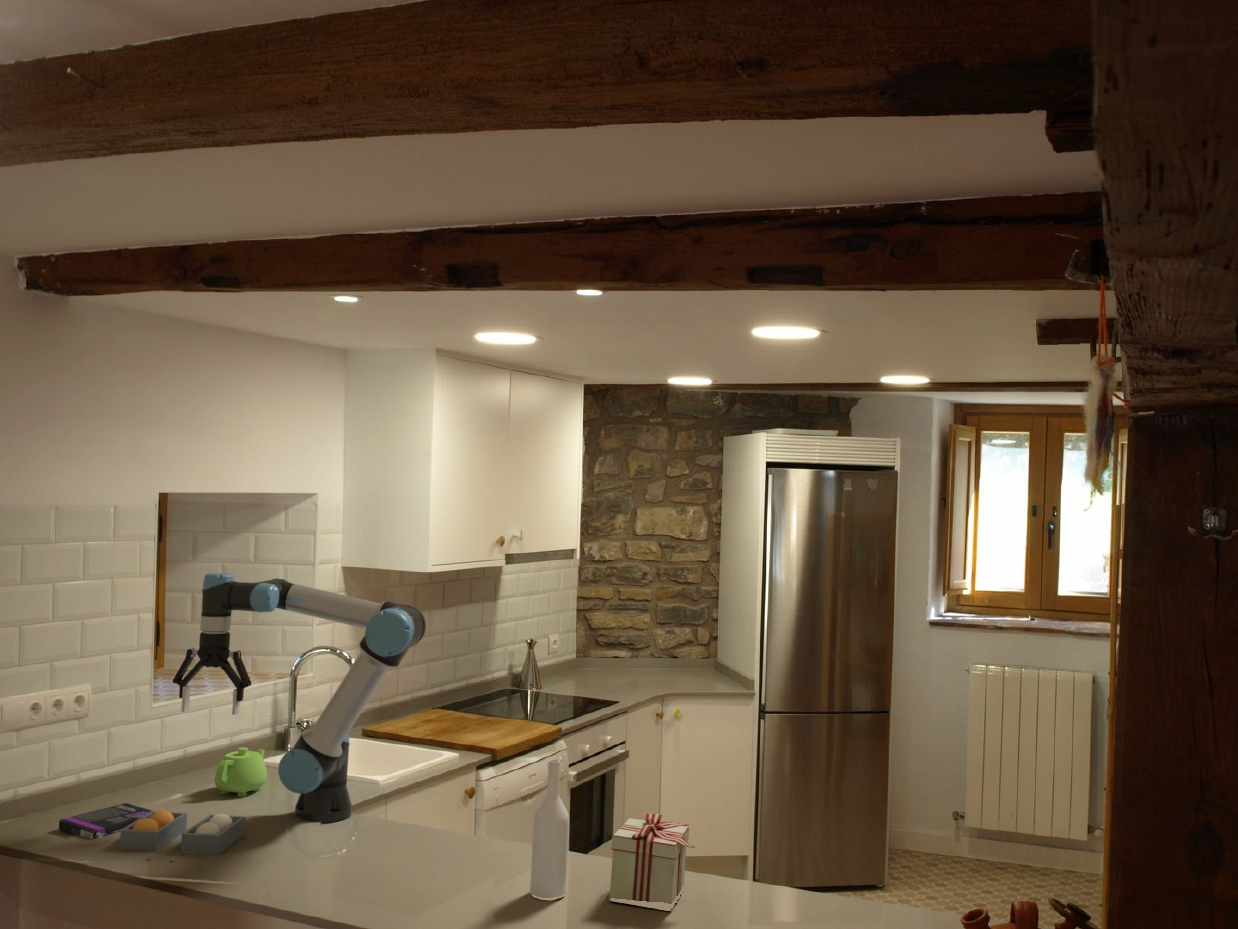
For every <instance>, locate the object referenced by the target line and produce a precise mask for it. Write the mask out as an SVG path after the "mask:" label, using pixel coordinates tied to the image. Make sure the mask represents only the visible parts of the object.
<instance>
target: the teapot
mask: <svg viewBox="0 0 1238 929" xmlns="http://www.w3.org/2000/svg"><path fill="white" fill-rule="evenodd" d="M265 752H266V750H265V749H262V748H260V749H257V751H252V750H249V748H248V747H245V746H244V747H238V748H237V751H236V750H235V751H232V752H228V753H226V754H225V755H224V756H223V758H222V759H221V760H220V761H219V764H218V767H217V769H216V771H215V775H214V784H215V786H216V788H217V789H218V790H220V792H219V794H220V795H228V794H229V793H230V792H231V793H237V797H239V798H246V797H248V793H247V792H250V791H251V792H252V793H253V792H255V793H256V792H260V791H261V789H260V788H261V787H262V786H263V785H264V784H265V783H266V781H267V777H268V772H267V767H266V763H265V761H264V756H265Z"/></svg>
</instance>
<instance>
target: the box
mask: <svg viewBox="0 0 1238 929" xmlns="http://www.w3.org/2000/svg"><path fill="white" fill-rule="evenodd" d="M151 811H152V810H150V809H148V808H144V807H141V806H136V805H134V804H131V803H128V802H125V803H121V804H116V805H114V806H109V807H103V808H100V809H97V810H93V811H88V812H85V813H82V814H78V815H72V816H70V817H66V818H61V819H59V820H58V821H59V822H58V831H59V830H60V831H62V832H61V833H63V834H67V835H70V836H75V835H78V836H81V837H84V838H87V839H90V840H95V839H100V838H102V837H107V836H110V835H113V834H117V833H121V829H123V828H125V827H126V826H128V825H130V824H131V823H133V822H135V821H136V820H138V819H140V818H141V817H143V816H145V815H146V814H148V813H150V812H151ZM60 831H59V832H60Z"/></svg>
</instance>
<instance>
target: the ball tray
mask: <svg viewBox="0 0 1238 929" xmlns="http://www.w3.org/2000/svg"><path fill="white" fill-rule="evenodd" d="M155 812H157V810H151V812H150V813H148V814H146V815H145V816H143V817H141V818H140V819H138V820H136V821H135V822H133V823H131V824H130V825H128V826H126V827H125V828H123V829H121V832H119V833H120V837H119V849H121V850H132V851H151V852H157V853H158V854H162V850H161V849H162V848H163V847H165V846H166V845H168V844H170V842H172V841H174V840H175V839H176V838H178V837H179V836H181V840H180V844H181V845H180V854H179V855H182V856H183V855H185V854H195V855H196V854H197V855H198V854H200V855H212V856H213V855H215V856H218V855H220V854H221V853H222V852H224V851H225V850H227V849H228V848H229V847H230V846H231V845H232V844H234V843H235V842H236V841H238V839H240V838H241V837H243V836H244V835H245V826H246V825H245V824H246V816H244V815H243V816H242V815H240V816H239V815H228V816H229V817H230V818H231V819H232V822H233V824H231V825H230V826H228V827H227V828H226V829H224V830H223V831H222V832H220V833H219V834H218V835H212V834H196V833H195V832H196V830H197V828H198V827H199V826H200V825H202V824H204V823H207V822H209V820H210V819H211V818H212V817H213V816H215V815H216V814H208V815H207V816H205V817H204V818H203V819H200V821H198V822H196V823H195V824H194V825H192V826H191V827H190V828H188V829H187V823H188V813H187V812H175V811H169V812H170V813H171V814H172V815H173V817H174V820H172V821H171V822H169V823H168V824H166V825H165V826H163V827H162V828H160V829H158V830H157V831H148V830H132V829H133V827H134V825H135V824H136V823H137V822H138V821H139V820H141V819H144V818H150V817H151V816H152V815H153V814H154V813H155ZM151 860H152V859H151V858H147V859H146V861H147V862H150V861H151ZM173 862H174V860H172V859H170V860H169V862H168V863H173Z"/></svg>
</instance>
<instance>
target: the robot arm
mask: <svg viewBox="0 0 1238 929" xmlns="http://www.w3.org/2000/svg"><path fill="white" fill-rule="evenodd" d="M201 592H202V597H201V598H202V600H201V612H200V613H201V614H200V624H199V630H200V631H201V632H200V634H199V643H198V645H199V648H198V649H196V648H194V647H191V648H188V649H187V650H186V652H185V653H186V654H185V658H183V661H182V663H181V664H180V666H179V669H178V670H177V672H176V674H175V675H174V677H173V679H172V683H173V684H176V685H178V686H179V692H178V694H179V696H178V697H179V699H181V711H180V712H181V713H184V712H187V711H189V710H190V699H191V698H190V696H191V685H190V684H189V683H190V682H191V680H193V679H194V678H195V676H196V675H197V674H198V673H199V672H200V671H201V669H203V668H204V667H205V668H211V667H212V668H214V669H215V668H220V669H221V670H223V672H224V673H225V674H226V676H227V677H228V679H229V680H230V681H231V682H232V684H233V685H234V687H235V688H234V689H233V692H232V693H233V694H232V709H231V710H232V713H231V715H237V714H240V703H241V702H242V701H243V700H244V694H245V693H244V691H245V689H246V688H249V687H251V686H252V681H251V679H250V676H249V674H248V672H247V669H246V667H245V664H244V662H243V661H244V660H243V658H242V651H241V650H235V651H230V645H231V644H230V642H231V633H230V632H229V631H230V630H231V628H232V627H231V626H232V624H231V623H232V611H242V612H244V611H245V612H257V613H272V612H274V611H275V610H276V609H280V610H284V611H287V612H288V611H289V612H293V613H297V614H301V615H306V616H310V617H313V618H319V619H323V620H326V621H330V622H334V623H335V622H336V623H339V624H340V623H341V624H344V625H348V626H352V627H357V628H361V629H364V630H365V631H364V635H363V637H362V638H361V640H360V641H359V644H358V646H359V652H360V653H359V654H358V656H357V658H356V659H355V660H354V662H353V664H352V665H351V667H350V669H348V672H347V673H346V675H345V677H344V678H343V679H342V681H341V682H340V684H339V685H338V687H337V689H336V691H335V692H334V694H333V695H332V697H331V699H330V700H329V702H327V704H326V705H325V708H324V709H323V711H322V712H321V714H320V715H319V717H318V718H317V720H316V722H315V723H314V725H313V726H312V728H307V729H304V730H303V731H302V733H301V734H300V736H299V738H298V739H297V741H296V742H295V744H294V745H293V746H292V748H291V749H290V750H288V751H286V753H284V755H283V756H282V757H281V759H280V761H279V763H278V769H277V772H278V776H279V780H280V782H281V783H282V786H284V787H285V788H286V789H287V790H288V791H290V792H292V793H295V794H298V795H299V796H298V797H297V798H298V799H297V801H296V803H295V807H294V813H293V814H294V817H295V818H296V819H300V820H302V821H303V820H304V821H307V822H308V821H309V822H320V823H321V824H323V823H324V824H325V823H334V822H338V821H343V820H346V819H348V818H349V817H351V816H352V814H353V813H352V812H353V805H352V801H351V798H350V797H351V796H350V795H349V791H348V790H349V789H348V767H349V754H350V753H349V752H350V751H349V750H350V744H351V743H350V735H349V732H350V731H351V729H352V728H353V726H354V725H355V723H356V722H357V720H358V719H359V718H360V716H361V714H362V712H363V710H365V707H366V706H367V705H368V703H369V701H370V699H371V698H372V696H373V695H374V693H375V692H376V690H377V689H378V687H379V685H380V684H381V683H382V680H383V679H384V677H385V676H386V674H388V671H389V670H390V669H395V668H398V667H399V665H400V663H401V662H402V661H403V658H404V657H405V656H406V654H407V652H408V651H409V649H411V648H412V647H414V646H416V645H417V644H418V643H420V641H422V640H423V638H424V636H425V633H426V628H427V623H426V618H425V616H424V614H423V613H422V612H421V611H420V609H419V608H417V607H415V606H413V605H410V604H405V603H398V602H392V601H387V600H384V601H383V602H381V603H380V602H375V601H371V600H367V599H364V598H363V599H362V598H357V597H355V596H354V597H353V596H349V595H344V594H341V593H337V592H331V591H327V590H324V589H318V588H315V587H311V586H306V585H301V584H296V583H293V582H290V581H289V580H287V579H284V578H272V579H268V580H263V581H256V582H248V581H247V582H245V581H243V582H240V581H235V579H234V574H232V573H227V572H208V573H207V574H205V576H204V577H203V583H202V589H201ZM195 657H198V658H199V660H198V662H196V664H195V666H194V667H192V669H191V670H190V671H189V672H188V673H187V671H188V669H189V668H190V666H191V664H192V662H193V660H194V658H195ZM229 658H231V660H232V661H233V663H234V664H233V665H234V666H235V669H236V671H237V673H238V674H237V673H236V671H235V669H234V668H233V667H232V665H231V663H230V661H229V660H228V659H229ZM186 673H187V674H186ZM185 674H186V675H185Z"/></svg>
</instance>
